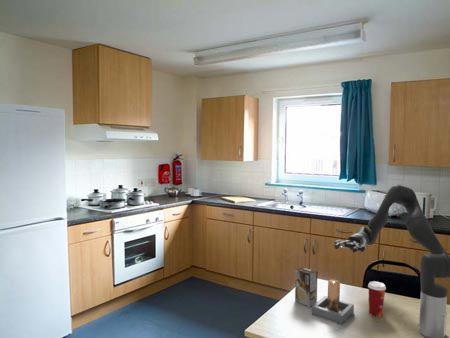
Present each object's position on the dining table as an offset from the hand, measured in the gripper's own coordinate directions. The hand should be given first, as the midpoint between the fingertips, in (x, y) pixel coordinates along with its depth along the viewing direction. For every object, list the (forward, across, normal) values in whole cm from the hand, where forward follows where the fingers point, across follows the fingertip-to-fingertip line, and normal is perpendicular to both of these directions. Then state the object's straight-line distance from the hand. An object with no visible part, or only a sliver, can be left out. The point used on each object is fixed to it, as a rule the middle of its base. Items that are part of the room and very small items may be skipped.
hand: (344, 248), depth 170 cm
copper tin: (+12, 0, +27) cm, 29 cm away
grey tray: (+12, 0, +28) cm, 30 cm away
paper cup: (-1, +15, +28) cm, 32 cm away
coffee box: (+9, -15, +28) cm, 33 cm away
